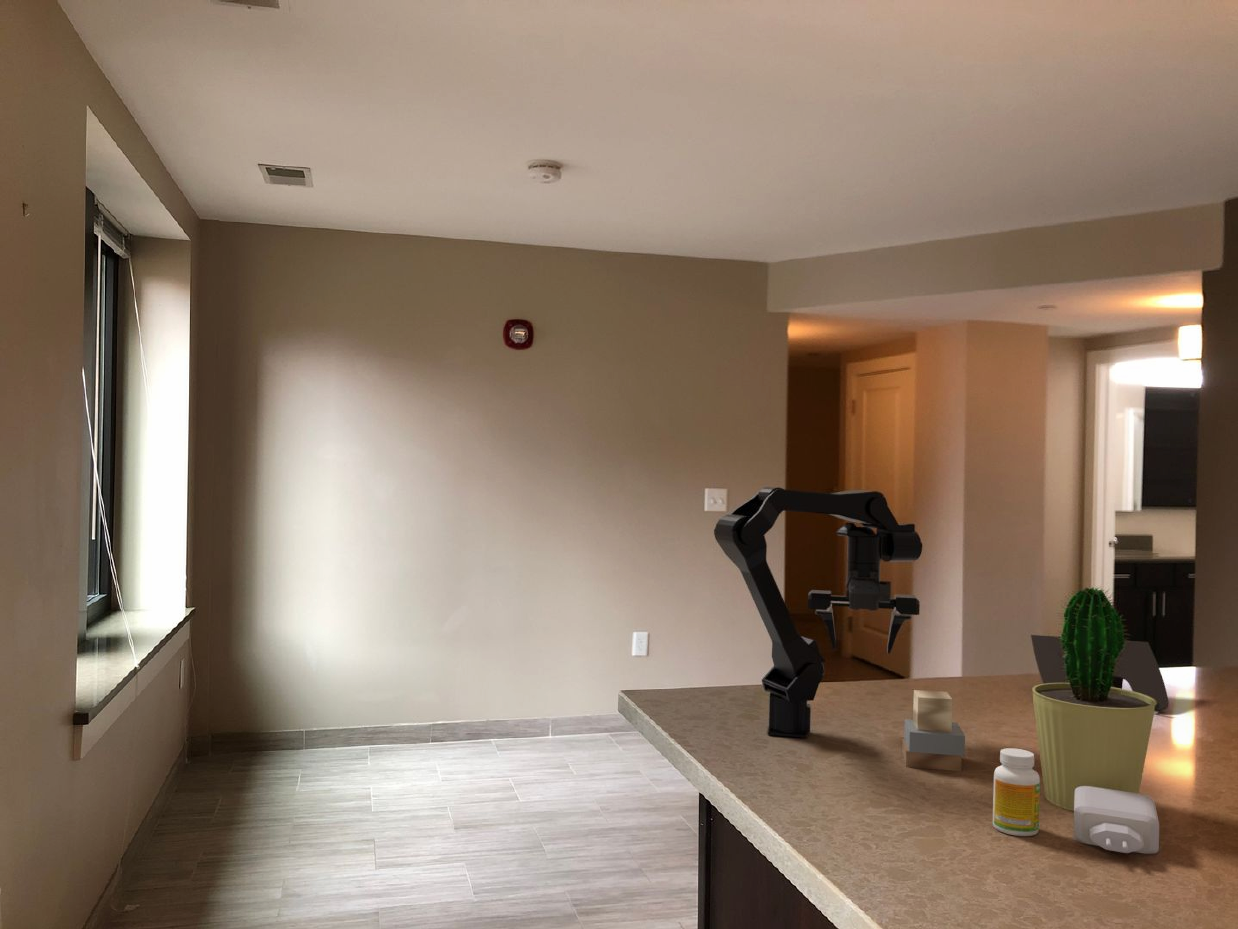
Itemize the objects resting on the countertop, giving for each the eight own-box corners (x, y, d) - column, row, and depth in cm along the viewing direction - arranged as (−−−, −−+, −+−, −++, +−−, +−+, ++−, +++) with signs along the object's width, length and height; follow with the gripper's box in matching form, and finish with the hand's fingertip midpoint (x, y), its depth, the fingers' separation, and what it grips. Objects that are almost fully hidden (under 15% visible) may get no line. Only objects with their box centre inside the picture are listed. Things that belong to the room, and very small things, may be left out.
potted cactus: (1148, 831, 127) (1155, 594, 127) (1019, 806, 135) (1025, 583, 135) (1158, 798, 140) (1163, 583, 140) (1039, 777, 148) (1045, 574, 148)
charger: (1072, 860, 117) (1073, 820, 131) (1162, 876, 114) (1153, 833, 127) (1073, 820, 117) (1074, 784, 131) (1163, 834, 114) (1154, 795, 127)
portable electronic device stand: (1042, 733, 197) (1047, 696, 193) (1026, 661, 217) (1031, 626, 213) (1171, 744, 192) (1179, 706, 187) (1143, 669, 211) (1150, 633, 207)
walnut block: (905, 771, 152) (906, 751, 152) (902, 756, 160) (902, 737, 160) (961, 775, 151) (961, 755, 151) (954, 760, 158) (955, 741, 158)
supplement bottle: (1042, 839, 123) (1044, 760, 123) (996, 835, 124) (998, 756, 124) (1033, 824, 129) (1035, 748, 129) (989, 820, 130) (991, 745, 130)
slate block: (909, 752, 152) (909, 732, 152) (904, 737, 160) (904, 719, 160) (964, 756, 150) (965, 736, 150) (956, 741, 158) (957, 722, 158)
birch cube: (917, 730, 153) (918, 697, 153) (913, 721, 158) (913, 690, 158) (951, 732, 152) (952, 699, 152) (946, 723, 157) (946, 691, 157)
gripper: (808, 564, 169) (805, 656, 169) (923, 569, 165) (921, 664, 165) (809, 558, 180) (807, 645, 180) (917, 563, 176) (915, 652, 176)
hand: (861, 651), depth 175 cm, fingers open, 9 cm apart
